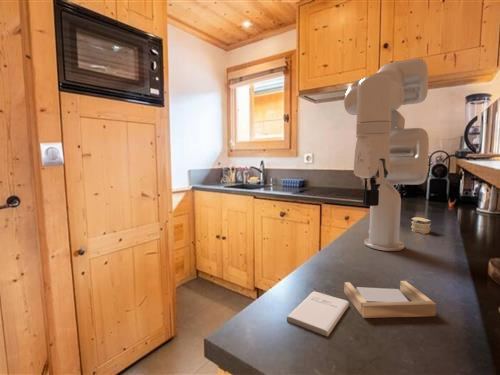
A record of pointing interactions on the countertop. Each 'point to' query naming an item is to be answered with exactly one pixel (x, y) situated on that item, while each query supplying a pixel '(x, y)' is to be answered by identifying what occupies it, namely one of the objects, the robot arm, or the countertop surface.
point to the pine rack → (393, 303)
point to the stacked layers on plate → (420, 225)
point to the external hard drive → (318, 313)
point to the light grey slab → (381, 294)
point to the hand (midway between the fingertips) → (370, 205)
